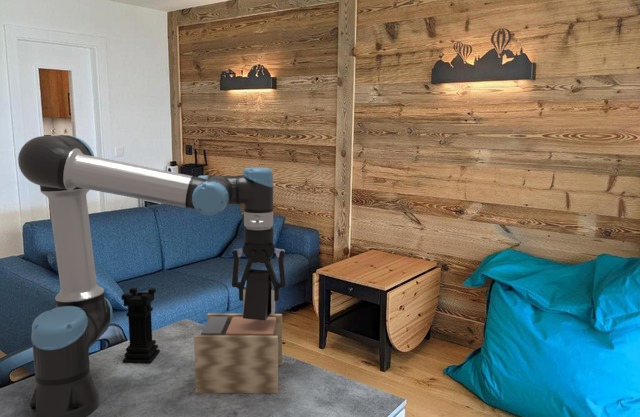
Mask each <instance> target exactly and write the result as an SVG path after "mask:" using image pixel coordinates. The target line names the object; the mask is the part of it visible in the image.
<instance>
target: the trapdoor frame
mask: <svg viewBox="0 0 640 417" xmlns="http://www.w3.org/2000/svg"><path fill="white" fill-rule="evenodd" d="M210 316H226V317H228V319H229V325H230V322H231V320H232V318H233V317H243V313H225V312H223V313H222V312H220V313H219V312H215V313H213V312H212V313H211V312H210V313H209V312H208V313H207V314H206V320H207V321H206V323H207V322H208V320H209V318H210ZM269 317H276V324H275V328H274V333H273V336H253V335H201V334H195V335H194V336H193V340H194V341H193V342H194V343H193V344H194V346H193V350H194V379H195V380H194V384H195V387H194V388H195V393H196V394H199V393H200V394H201V393H202V394H279V366H283V314H282V313H274V314H270V315H269Z"/></svg>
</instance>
